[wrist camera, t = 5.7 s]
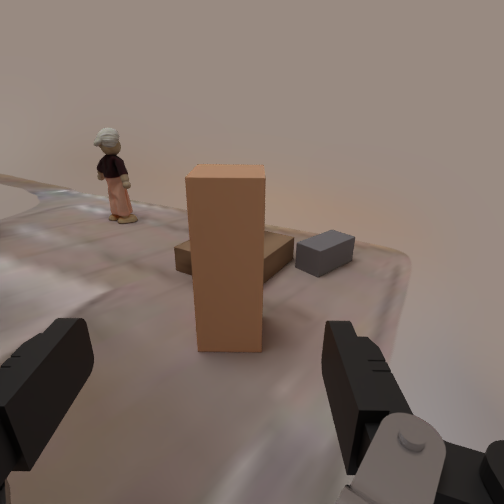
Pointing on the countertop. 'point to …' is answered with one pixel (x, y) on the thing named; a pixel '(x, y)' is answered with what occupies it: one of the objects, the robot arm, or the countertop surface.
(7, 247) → the countertop surface
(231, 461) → the countertop surface
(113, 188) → the grandmother figurine
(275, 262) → the walnut block
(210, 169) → the light brown brick
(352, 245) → the charcoal brick
